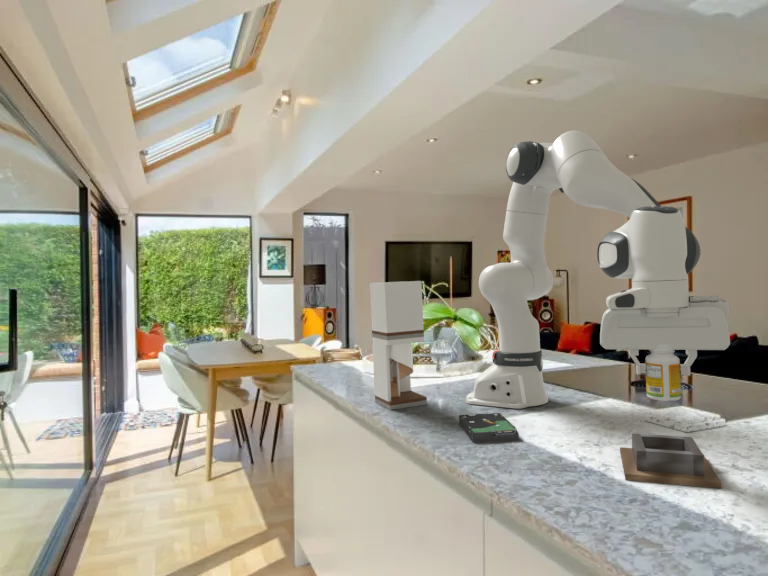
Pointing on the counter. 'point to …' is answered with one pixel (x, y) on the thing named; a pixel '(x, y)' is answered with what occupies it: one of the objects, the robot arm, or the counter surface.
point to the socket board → (667, 461)
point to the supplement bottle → (663, 374)
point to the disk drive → (488, 428)
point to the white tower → (396, 341)
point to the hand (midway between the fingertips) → (662, 374)
